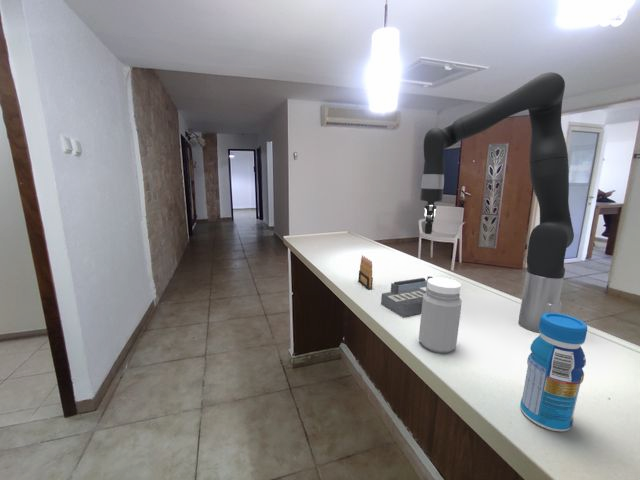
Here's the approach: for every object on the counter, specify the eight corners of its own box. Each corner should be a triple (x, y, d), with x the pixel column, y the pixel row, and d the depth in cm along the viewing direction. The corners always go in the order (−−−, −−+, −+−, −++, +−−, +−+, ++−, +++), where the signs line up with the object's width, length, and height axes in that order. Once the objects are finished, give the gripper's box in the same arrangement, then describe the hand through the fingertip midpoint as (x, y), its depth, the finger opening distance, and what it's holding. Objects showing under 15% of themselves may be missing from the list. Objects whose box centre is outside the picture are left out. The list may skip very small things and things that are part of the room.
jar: (438, 334, 91) (445, 275, 88) (464, 351, 82) (473, 286, 79) (410, 338, 88) (416, 277, 84) (434, 357, 79) (442, 290, 75)
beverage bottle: (509, 407, 62) (525, 313, 58) (535, 396, 66) (552, 307, 62) (555, 440, 55) (577, 334, 51) (582, 425, 58) (605, 325, 54)
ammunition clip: (372, 289, 126) (374, 261, 124) (367, 290, 126) (369, 261, 124) (362, 281, 136) (363, 254, 134) (358, 281, 136) (359, 254, 134)
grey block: (442, 309, 109) (445, 282, 107) (403, 317, 101) (406, 288, 99) (418, 297, 120) (420, 272, 118) (380, 304, 112) (382, 277, 110)
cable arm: (428, 288, 111) (429, 278, 110) (395, 294, 104) (396, 283, 104) (423, 286, 113) (424, 276, 112) (390, 291, 106) (391, 281, 106)
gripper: (444, 188, 104) (439, 236, 107) (442, 187, 117) (438, 230, 120) (421, 187, 106) (416, 234, 109) (421, 187, 120) (417, 228, 123)
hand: (427, 232), depth 115 cm, fingers open, 8 cm apart
